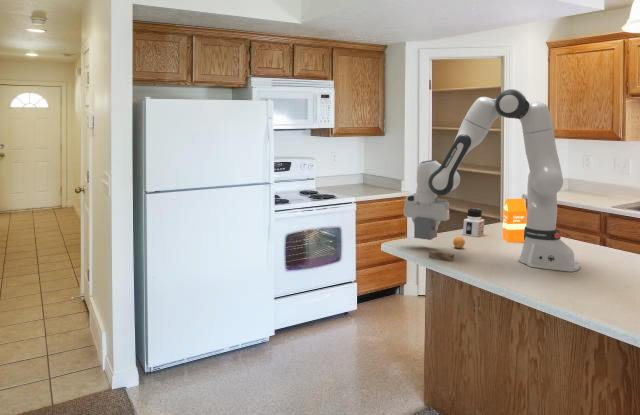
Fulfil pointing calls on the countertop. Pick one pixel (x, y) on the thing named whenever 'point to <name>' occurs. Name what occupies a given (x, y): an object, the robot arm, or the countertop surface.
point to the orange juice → (514, 220)
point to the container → (473, 223)
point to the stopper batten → (441, 255)
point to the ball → (458, 242)
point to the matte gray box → (424, 228)
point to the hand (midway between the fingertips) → (425, 228)
